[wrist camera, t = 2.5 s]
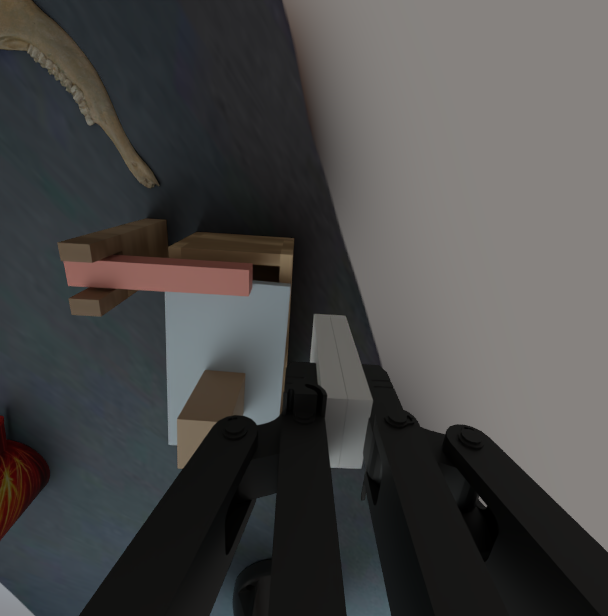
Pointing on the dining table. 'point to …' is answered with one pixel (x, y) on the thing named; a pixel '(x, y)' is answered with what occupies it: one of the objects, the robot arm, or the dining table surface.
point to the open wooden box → (244, 259)
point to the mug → (18, 479)
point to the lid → (223, 360)
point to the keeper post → (114, 241)
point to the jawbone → (68, 72)
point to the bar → (163, 275)
